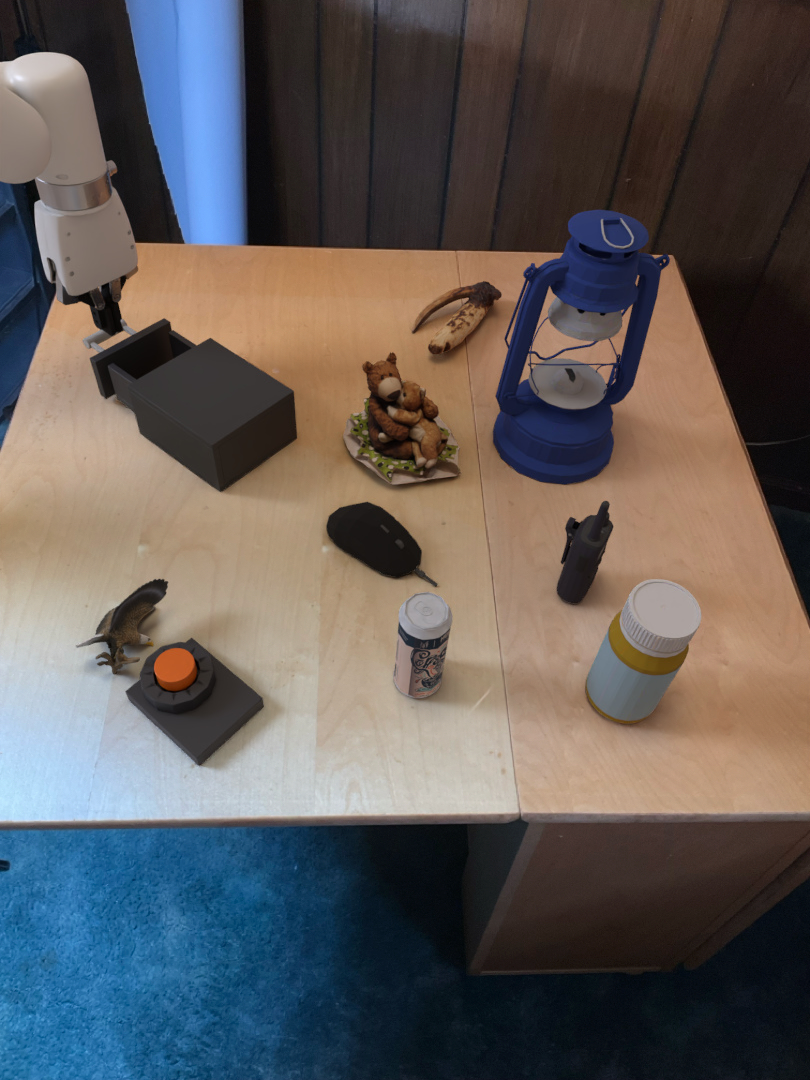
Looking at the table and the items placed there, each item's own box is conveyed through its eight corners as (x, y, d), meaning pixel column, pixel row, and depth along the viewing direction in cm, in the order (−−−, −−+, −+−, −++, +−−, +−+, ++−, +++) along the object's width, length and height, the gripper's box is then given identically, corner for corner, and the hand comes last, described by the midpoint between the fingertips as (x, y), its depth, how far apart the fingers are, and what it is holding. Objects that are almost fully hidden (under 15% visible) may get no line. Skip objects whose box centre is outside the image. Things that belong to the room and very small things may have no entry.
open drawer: (72, 374, 104) (59, 337, 99) (143, 335, 110) (134, 298, 105) (170, 446, 97) (162, 409, 92) (241, 400, 103) (236, 364, 98)
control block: (126, 698, 76) (118, 680, 74) (192, 644, 80) (187, 625, 78) (199, 766, 72) (193, 749, 70) (264, 706, 77) (261, 688, 74)
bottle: (612, 651, 83) (656, 561, 71) (668, 697, 80) (723, 611, 68) (569, 690, 79) (607, 603, 68) (625, 740, 76) (675, 658, 65)
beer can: (418, 710, 77) (428, 643, 68) (382, 679, 79) (387, 610, 70) (451, 678, 80) (464, 609, 70) (415, 649, 81) (424, 578, 72)
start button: (149, 675, 74) (145, 665, 73) (179, 650, 76) (176, 640, 75) (174, 698, 73) (171, 689, 72) (205, 672, 75) (202, 663, 74)
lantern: (504, 491, 96) (553, 266, 73) (471, 407, 105) (506, 184, 82) (637, 475, 99) (725, 254, 76) (594, 395, 108) (661, 176, 85)
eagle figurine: (170, 674, 77) (189, 589, 81) (112, 649, 72) (135, 559, 76) (115, 684, 80) (135, 602, 85) (56, 659, 75) (81, 573, 79)
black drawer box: (139, 433, 99) (126, 385, 93) (217, 385, 106) (210, 337, 100) (220, 492, 94) (211, 445, 88) (297, 438, 100) (294, 390, 94)
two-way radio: (578, 612, 86) (614, 519, 74) (540, 594, 87) (569, 500, 75) (596, 576, 89) (633, 482, 77) (559, 559, 90) (590, 464, 78)
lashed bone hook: (451, 290, 123) (392, 348, 113) (454, 261, 120) (393, 318, 109) (507, 308, 120) (451, 369, 110) (511, 279, 117) (454, 340, 106)
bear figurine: (375, 504, 94) (378, 426, 84) (329, 422, 102) (328, 343, 93) (479, 474, 98) (493, 396, 88) (427, 397, 106) (434, 319, 97)
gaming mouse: (418, 604, 85) (421, 582, 82) (315, 533, 90) (314, 509, 87) (454, 568, 88) (458, 546, 85) (352, 502, 94) (352, 478, 91)
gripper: (110, 153, 92) (139, 293, 106) (-9, 196, 85) (39, 341, 99) (152, 176, 90) (176, 317, 104) (34, 223, 82) (77, 368, 96)
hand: (110, 328), depth 101 cm, fingers closed
